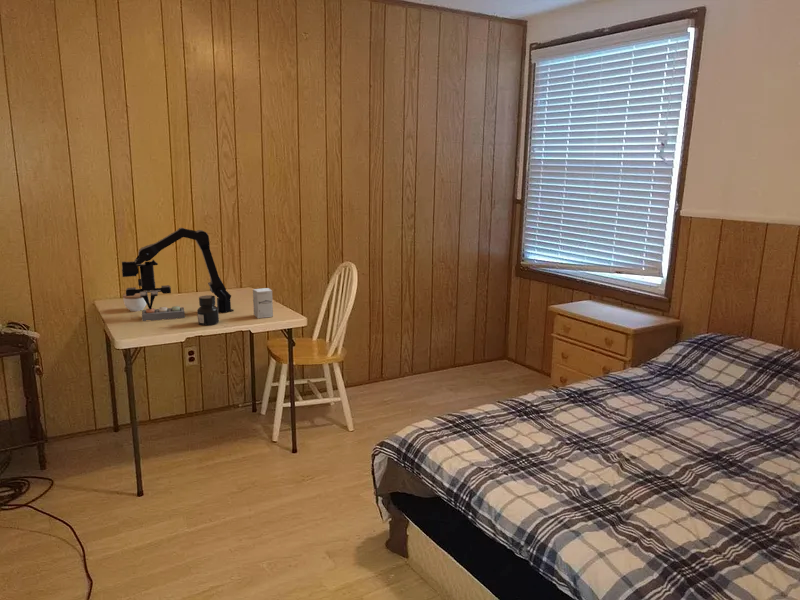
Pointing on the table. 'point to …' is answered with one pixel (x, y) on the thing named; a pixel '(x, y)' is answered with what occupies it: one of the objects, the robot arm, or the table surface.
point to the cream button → (163, 309)
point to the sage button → (176, 308)
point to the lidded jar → (134, 302)
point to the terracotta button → (150, 310)
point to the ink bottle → (207, 311)
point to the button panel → (163, 314)
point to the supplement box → (262, 302)
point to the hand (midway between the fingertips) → (150, 309)
